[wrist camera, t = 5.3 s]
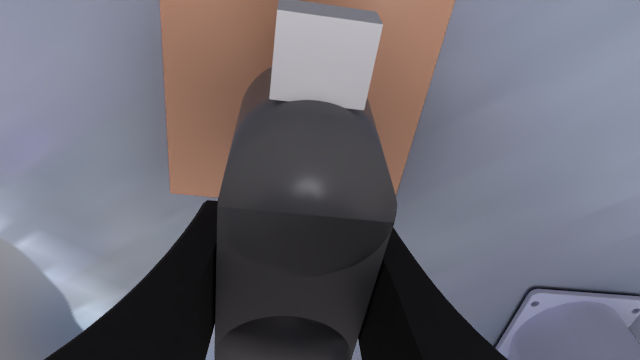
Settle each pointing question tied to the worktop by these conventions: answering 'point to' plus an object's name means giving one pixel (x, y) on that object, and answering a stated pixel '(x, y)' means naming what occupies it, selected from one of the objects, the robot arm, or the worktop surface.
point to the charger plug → (304, 194)
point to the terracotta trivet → (257, 56)
